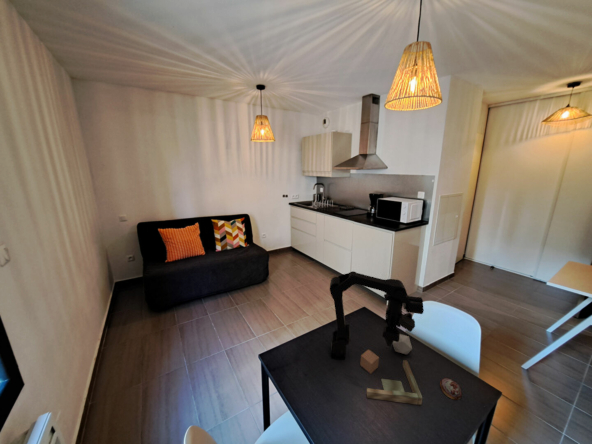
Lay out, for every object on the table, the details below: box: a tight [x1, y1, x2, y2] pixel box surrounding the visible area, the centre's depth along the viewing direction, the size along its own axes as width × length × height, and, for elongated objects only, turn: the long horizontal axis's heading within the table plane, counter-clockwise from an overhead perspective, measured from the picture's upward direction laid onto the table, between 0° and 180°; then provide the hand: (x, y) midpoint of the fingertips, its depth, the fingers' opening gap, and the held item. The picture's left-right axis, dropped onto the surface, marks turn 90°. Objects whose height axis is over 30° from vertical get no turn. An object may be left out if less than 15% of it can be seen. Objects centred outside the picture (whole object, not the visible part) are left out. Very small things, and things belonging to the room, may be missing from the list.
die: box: [392, 333, 413, 355], centre depth 108 cm, size 8×9×10 cm
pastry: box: [439, 377, 463, 400], centre depth 90 cm, size 8×8×5 cm
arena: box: [366, 359, 423, 406], centre depth 94 cm, size 20×17×4 cm
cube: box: [359, 349, 380, 374], centre depth 100 cm, size 6×6×6 cm
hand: (389, 338), depth 100 cm, fingers open, 9 cm apart
